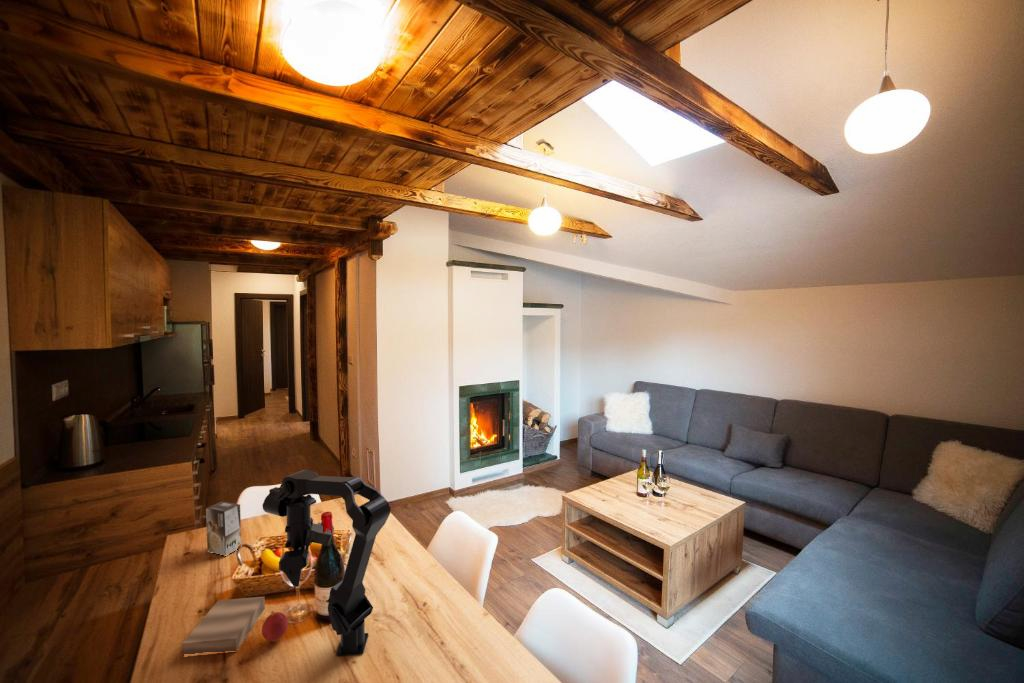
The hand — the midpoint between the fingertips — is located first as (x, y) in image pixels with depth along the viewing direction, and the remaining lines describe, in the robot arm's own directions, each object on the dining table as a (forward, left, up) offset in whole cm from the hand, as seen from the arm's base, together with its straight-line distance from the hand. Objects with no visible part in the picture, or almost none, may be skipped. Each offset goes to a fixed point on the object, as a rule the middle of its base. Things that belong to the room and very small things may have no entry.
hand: (299, 576), depth 113 cm
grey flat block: (0, +18, -14) cm, 23 cm away
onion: (-5, +4, -14) cm, 15 cm away
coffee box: (+42, +40, -14) cm, 59 cm away
